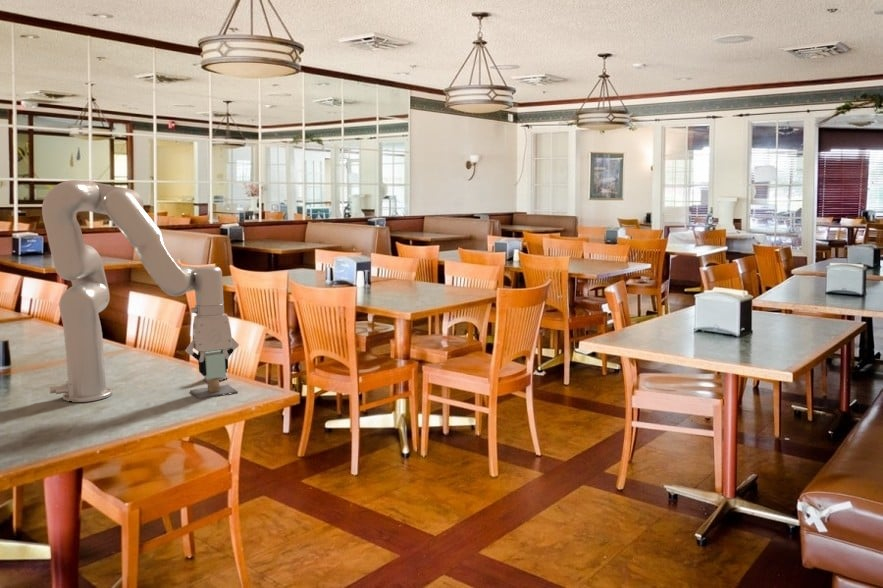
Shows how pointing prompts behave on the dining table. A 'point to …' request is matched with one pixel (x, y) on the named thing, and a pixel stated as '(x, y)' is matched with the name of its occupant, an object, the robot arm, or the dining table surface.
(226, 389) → the thin dark base plate
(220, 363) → the sage green cube
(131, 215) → the robot arm
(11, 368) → the dining table surface
